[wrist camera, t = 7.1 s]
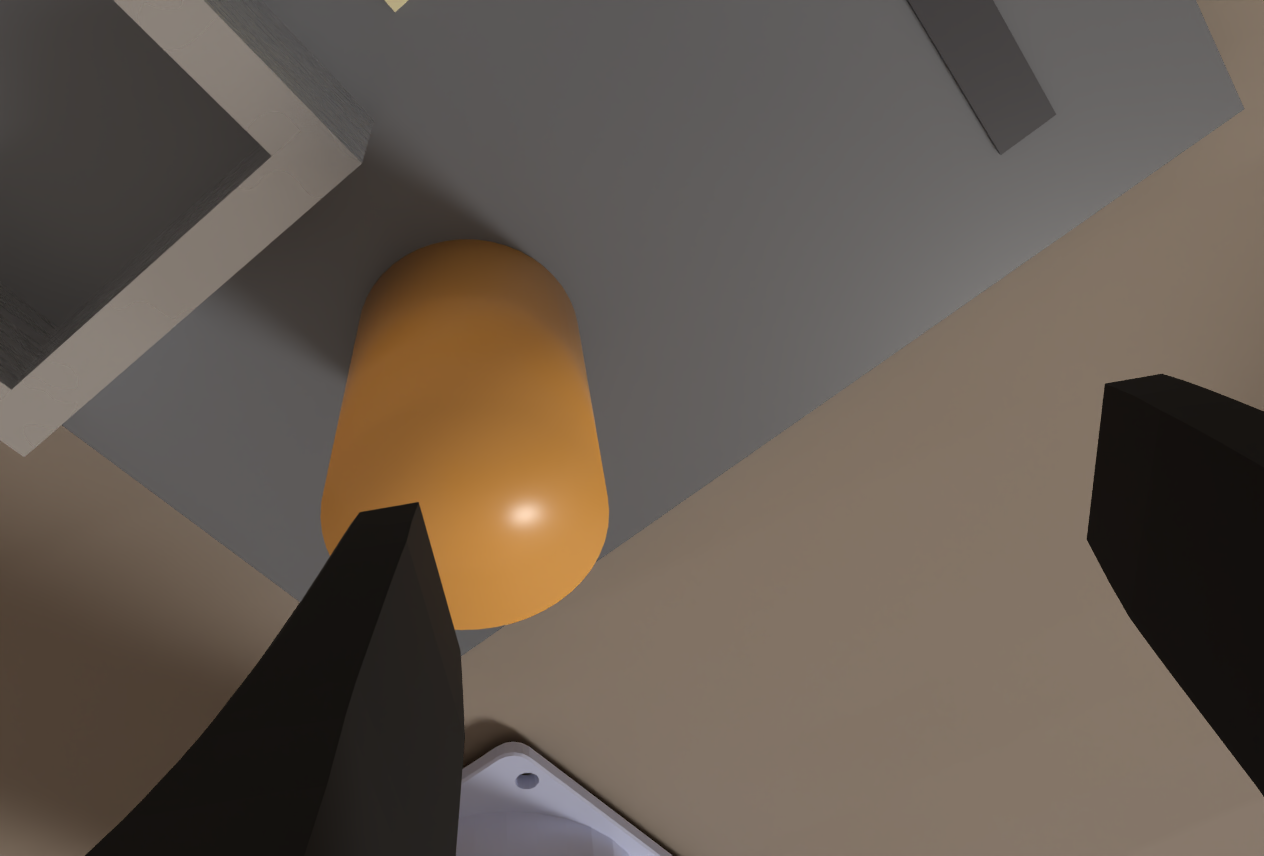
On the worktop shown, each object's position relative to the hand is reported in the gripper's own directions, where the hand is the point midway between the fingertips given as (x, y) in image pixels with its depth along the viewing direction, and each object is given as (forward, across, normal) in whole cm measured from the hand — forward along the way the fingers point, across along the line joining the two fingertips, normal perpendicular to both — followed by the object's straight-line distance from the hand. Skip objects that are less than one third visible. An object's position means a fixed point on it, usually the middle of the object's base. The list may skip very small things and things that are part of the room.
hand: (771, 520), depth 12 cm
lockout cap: (+7, +3, +1) cm, 8 cm away
